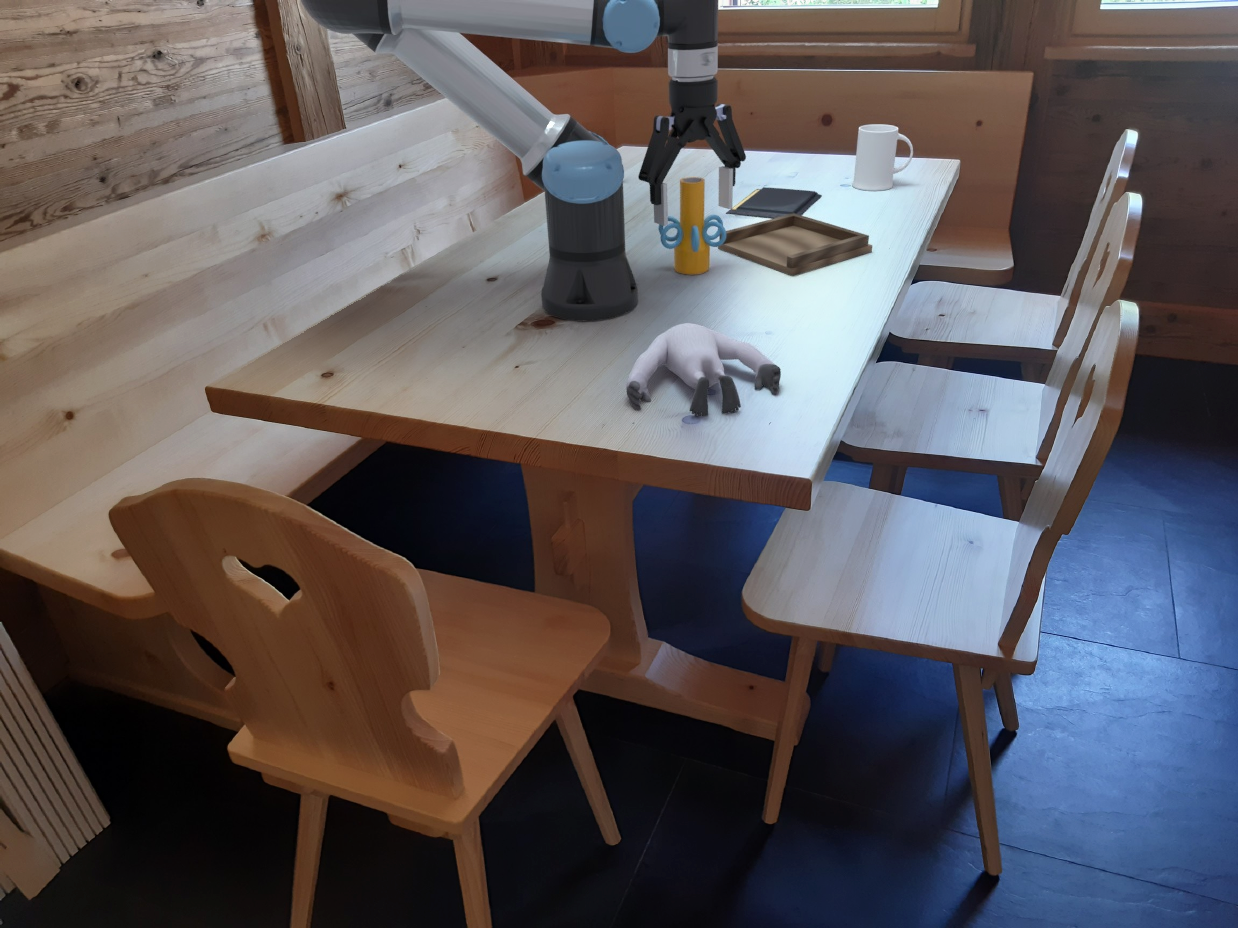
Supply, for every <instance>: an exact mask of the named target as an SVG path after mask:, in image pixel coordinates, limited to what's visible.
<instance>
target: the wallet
mask: <svg viewBox="0 0 1238 928" xmlns="http://www.w3.org/2000/svg"><path fill="white" fill-rule="evenodd" d="M822 197H823V195H822V194H820V193H818V192H817V191H815V190H803V189H792V188H780V187H765V186H764V187H761V188H756V189H755V190H754V191H752V192H751V193H750V194H749V195H747V196H746V197H745V198H743V199H742V200H741V201H739V202H738V203H737V204H736V205H734V206H732V208H731V209H728V211H727V212H725V214H726V215H735V216H741V217H742V216H744V217H752V218H762V219H769V220H770V219H774V218H778V217H781V216H785V215H789V214H793V213H795V214H798V215H802V216H804V214H805V212H807V211H808V210H809V209H810V208H811V207H812V206H814V204H815V203H816V202H818V201H819V200H820V199H821V198H822Z"/></svg>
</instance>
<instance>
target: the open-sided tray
mask: <svg viewBox="0 0 1238 928" xmlns="http://www.w3.org/2000/svg"><path fill="white" fill-rule="evenodd" d="M721 237H722V234H720V235H719V240H720V239H721ZM869 239H870V235H869V234H866V233H862V232H859V231H855V230H851V229H848V228H844V227H841V226H838V225H834V224H832V223H828V222H826V221H821V220H818V219H815V218H811V217H809V216H804V215H798V214H795V213H793V214H789V215H785V216H781V217H778V218H774V219H770V218H769V219H766V220H764V221H760V222H755V223H751V224H748V225H745V226H740V227H737V228H733V229H728V230H726V240H725V242H724V243H723V244H722V245H721V246H718V247H717V250H720V251H723V252H725V253H728V254H731V255H733V256H734V255H735V256H736V257H738V258H739V257H740V258H742V259H745V260H748V261H751V262H753V263H756V264H758V265H761V266H764V267H766V268H770V269H772V270H774V271H778V272H780V273H783V274H786V275H788V276H791V277H795V276H798V275H801V274H804V273H808V272H810V271H814V270H817V269H822V268H823V267H827V266H830V265H834V264H837V263H840V262H843V261H847V260H849V259H853V258H856V257H860V256H864V255H867V254H869V253H872V251H873V244H871V243H869ZM719 240H718V241H719Z"/></svg>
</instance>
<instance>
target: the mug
mask: <svg viewBox="0 0 1238 928" xmlns="http://www.w3.org/2000/svg"><path fill="white" fill-rule="evenodd" d="M857 132H858V134H857V141H856V153H855V155H856V157H855V165H854V173H853V174H854V175H853V181H852V183H851V184H852V185H851V186H852V187H853V188H855V189H857V190H861V191H865V192H866V191H868V192H879V191H880V192H881V191H888V190H890V189H892V188H893V187H894V174H898V173H899V172H902V171H904V170H905V169H906V168H907V167H908V166H909V165H910V163H911V162H912V159H913V155H914V148H913V144H912V142H911V141H910V139H909V138H908V137H907V136H906V135H904V134H901V133H900V132H899V127H898V126H896V125H890V124H884V123H883V124H878V123H877V124H876V123H875V124H873V123H872V124H864V125H860V126H859V127H858V131H857ZM898 140H899V141H903V142H906V144H907V145H908V147H909V149H910V154H909V157H908V160H907V161H906V163H904V164H903V165H901V166H899V167H895V163H896V156H897V155H896V154H897V153H896V152H897V146H898Z"/></svg>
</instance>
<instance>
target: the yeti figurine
mask: <svg viewBox="0 0 1238 928" xmlns="http://www.w3.org/2000/svg"><path fill="white" fill-rule="evenodd" d="M654 338H655V337H654ZM725 360H726V361H732V360H738V361H739V362H740V363H741V364H742V365H743V366H745V367H746V368H748V369H750V370H751V371H752V372H754V373H755V376H754V377H755V378H754V390H756V391H760V390H762V388H763V386H764V387H765V388H767V389H768V390H769V391H770V393H771V395H773V396H776V395H778V394H779V393H778V392H779V390H778V388H779V387H780V380H781V375H782V373H781V372H782V371H781V368H780V366H778V365H777V364H775V362H773V361H772V360H771V359H769V358H768V357H767V356H766V355H765V354H763V353H762V352H761V350H759V349H758V348H757V347H756V346H754V345H752V344H751V343H749V342H745V341H739V340H737V339H734V338H731V337H729V336H727V335H725V334H723V333H722V332H719V331H716V330H713V329H710V328H708V327H706V326H703V325H700V324H697V323H690V322H687V323H686V322H685V323H679V324H677V325H674V326H672V327H670V328H669V329H667V330H666V331H663V332H662V333H660V334H659V335H657V336H656V338H655V339H653V341H652V342H651V343H650V345H649V346H648V347H647V349H645V351H644V352H642V353H641V354H640V355H639V356H638V358H637V359H636V360H635V363H634V364H633V365H632V368H631V370H630V373H629V375H628V377H627V381H626V395H627V396H626V397H627V398H628V400H629V401H630V404H631V408H633V410H635V411H640V410H641V409H642V407H641V405H642V401H644V402H645V403H650V402H651V401H652V398H651V394H650V392H649V390H648V387H647V386H648V381H649V379H650V378H651V376H652V375H653V374H654V372H656V370H657V368H658V366H662V365H664V366H665V367H667V369H668V370H669V371H671V372H672V373H673V374H674V375H676V376H677V377H678V378H680V379H681V380H682V381H683V382H684V383H685V384H686V385H687V386H688V387H690V388H691V389H694V392H693V395H692V400H691V403H690V407H689V412H691V414H692V415H694V416H697V417H699V418H700V417H707V416H709V402H708V393H709V388H711V387H712V386H714V385H715V384H720V388H721V397H722V398H721V399H722V400H721V414H723V415H724V414H726V415H727V414H728V413H729V414H733V413H736V411H737V412H738V411H739V410H740V409H739V408H741V407H742V405H741V401H740V396H739V392H738V389H737V386H736V383H735V381H734V379H733V378H732V377H731V376H729V375H726V374H725V369H724V364H723V363H722V361H725ZM641 399H642V400H641Z"/></svg>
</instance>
